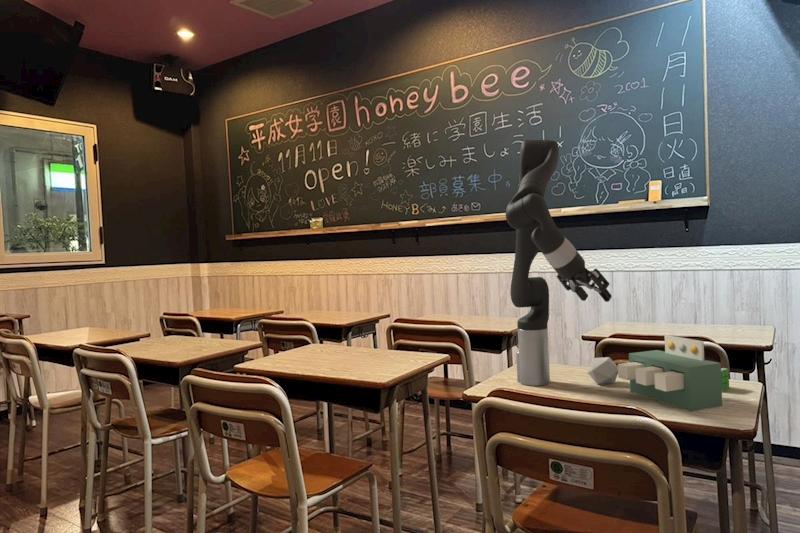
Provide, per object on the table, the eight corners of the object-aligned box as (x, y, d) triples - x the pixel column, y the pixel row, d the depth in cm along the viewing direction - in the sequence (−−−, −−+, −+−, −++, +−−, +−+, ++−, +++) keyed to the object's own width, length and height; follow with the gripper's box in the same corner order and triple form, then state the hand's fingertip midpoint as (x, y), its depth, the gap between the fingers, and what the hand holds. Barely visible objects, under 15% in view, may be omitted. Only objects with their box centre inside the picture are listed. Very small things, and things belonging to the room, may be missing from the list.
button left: (618, 377, 157) (617, 364, 157) (636, 375, 159) (635, 361, 159) (627, 380, 154) (627, 366, 154) (645, 377, 155) (645, 364, 155)
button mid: (635, 382, 151) (635, 368, 151) (654, 380, 152) (653, 366, 152) (646, 385, 147) (645, 371, 147) (664, 383, 149) (664, 368, 149)
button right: (654, 388, 144) (654, 373, 144) (673, 385, 146) (673, 371, 146) (666, 391, 140) (665, 376, 140) (685, 388, 142) (684, 373, 142)
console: (630, 391, 161) (628, 336, 161) (658, 387, 164) (656, 332, 164) (691, 411, 140) (688, 347, 140) (722, 405, 143) (720, 343, 143)
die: (615, 390, 166) (627, 361, 169) (588, 375, 168) (600, 347, 170) (606, 393, 174) (617, 365, 177) (580, 379, 175) (592, 352, 178)
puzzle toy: (729, 388, 159) (728, 368, 159) (718, 392, 156) (717, 371, 156) (709, 385, 164) (708, 365, 164) (698, 388, 161) (697, 368, 161)
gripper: (590, 245, 142) (624, 289, 147) (552, 248, 155) (585, 288, 160) (574, 266, 140) (610, 310, 145) (537, 267, 153) (571, 308, 158)
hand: (597, 299), depth 152 cm, fingers open, 8 cm apart
